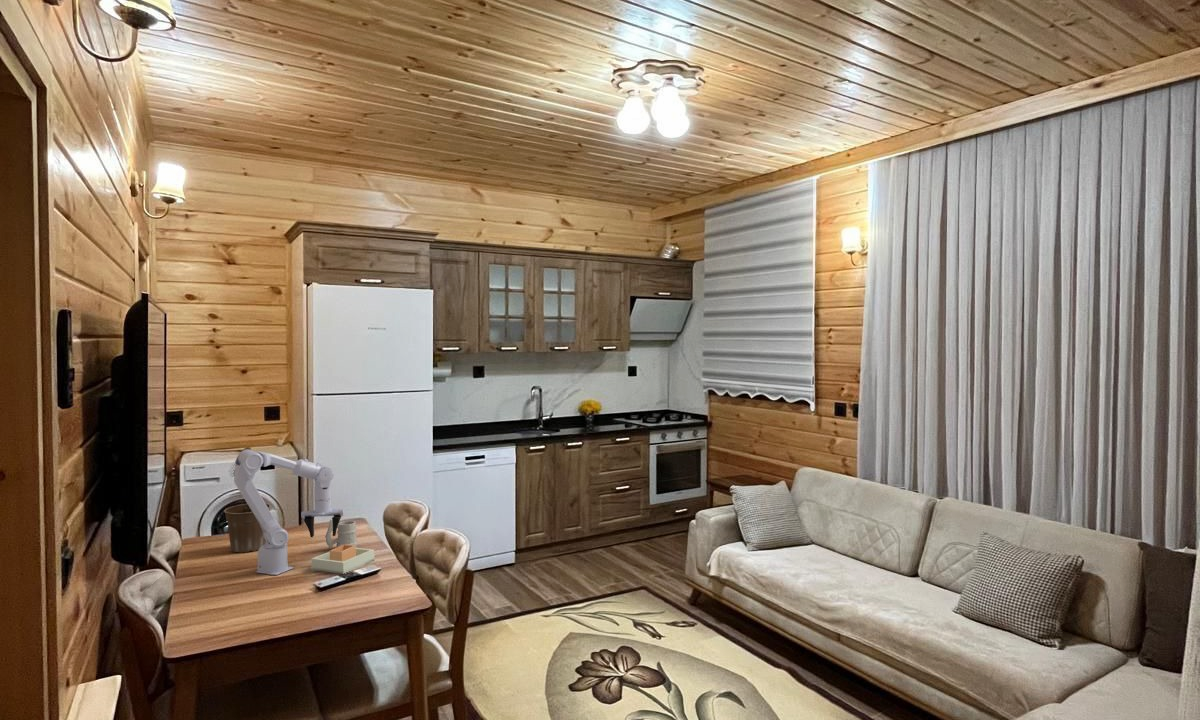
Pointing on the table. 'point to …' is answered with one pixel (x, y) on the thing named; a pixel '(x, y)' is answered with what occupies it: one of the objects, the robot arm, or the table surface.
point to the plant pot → (244, 529)
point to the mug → (342, 534)
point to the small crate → (343, 553)
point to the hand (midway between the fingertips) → (323, 536)
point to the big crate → (341, 567)
